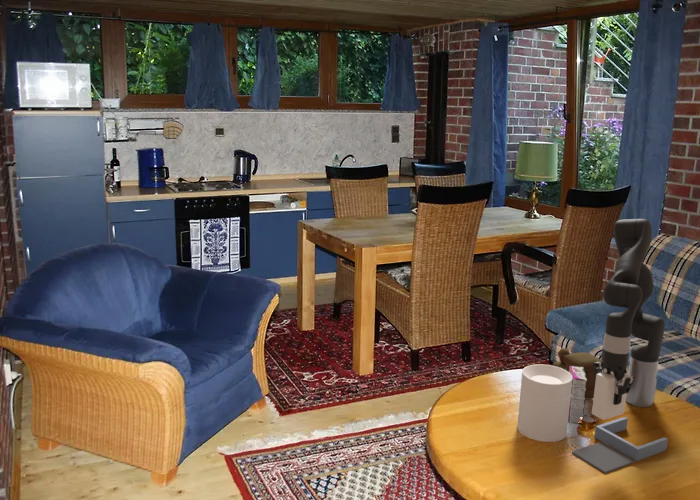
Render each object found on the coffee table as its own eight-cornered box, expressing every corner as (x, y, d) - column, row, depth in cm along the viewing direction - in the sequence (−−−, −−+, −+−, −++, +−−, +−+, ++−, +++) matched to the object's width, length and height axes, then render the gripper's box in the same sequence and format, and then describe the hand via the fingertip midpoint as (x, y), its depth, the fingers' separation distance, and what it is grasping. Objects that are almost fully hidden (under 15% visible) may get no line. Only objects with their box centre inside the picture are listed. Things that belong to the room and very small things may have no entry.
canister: (569, 424, 233) (575, 369, 228) (562, 446, 219) (568, 388, 214) (522, 414, 240) (527, 360, 235) (512, 434, 225) (517, 378, 221)
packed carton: (591, 413, 209) (596, 373, 206) (612, 407, 213) (616, 368, 210) (603, 420, 205) (608, 379, 202) (624, 413, 209) (629, 374, 206)
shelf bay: (623, 427, 232) (624, 416, 231) (666, 450, 218) (667, 438, 217) (594, 437, 225) (595, 426, 224) (636, 461, 211) (638, 449, 210)
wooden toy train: (600, 403, 249) (606, 361, 245) (575, 408, 245) (580, 365, 241) (564, 381, 267) (568, 341, 263) (540, 385, 263) (544, 345, 259)
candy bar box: (564, 408, 245) (569, 365, 241) (579, 409, 244) (583, 366, 240) (567, 422, 234) (572, 378, 230) (583, 424, 233) (588, 379, 229)
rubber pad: (600, 443, 221) (600, 441, 221) (634, 462, 210) (634, 460, 210) (571, 453, 215) (571, 451, 215) (605, 473, 204) (605, 471, 204)
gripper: (588, 342, 208) (582, 393, 212) (627, 358, 196) (620, 413, 200) (605, 338, 212) (599, 389, 216) (645, 354, 200) (637, 408, 204)
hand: (609, 400), depth 208 cm, fingers closed on packed carton, 4 cm apart
